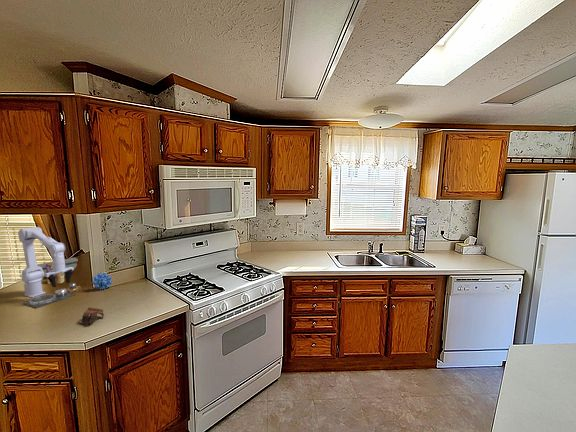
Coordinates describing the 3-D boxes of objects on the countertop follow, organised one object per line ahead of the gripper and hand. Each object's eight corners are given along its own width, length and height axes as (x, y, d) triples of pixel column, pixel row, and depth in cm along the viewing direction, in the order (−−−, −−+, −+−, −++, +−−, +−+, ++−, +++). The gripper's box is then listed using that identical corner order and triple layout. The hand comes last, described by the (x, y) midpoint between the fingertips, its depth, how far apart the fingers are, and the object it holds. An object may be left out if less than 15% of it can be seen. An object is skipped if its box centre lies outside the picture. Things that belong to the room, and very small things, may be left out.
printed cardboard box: (39, 281, 211) (37, 266, 210) (36, 279, 216) (34, 265, 215) (79, 272, 231) (77, 259, 230) (75, 270, 236) (74, 257, 235)
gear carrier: (24, 304, 172) (23, 298, 171) (61, 292, 190) (60, 286, 190) (36, 308, 167) (35, 301, 166) (73, 295, 185) (73, 289, 185)
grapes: (95, 293, 187) (93, 276, 186) (92, 291, 192) (90, 273, 190) (115, 288, 196) (113, 271, 195) (111, 286, 201) (110, 269, 199)
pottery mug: (78, 322, 151) (85, 306, 154) (98, 325, 157) (104, 309, 160) (81, 325, 142) (88, 307, 145) (102, 327, 148) (108, 311, 151)
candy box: (65, 281, 211) (62, 261, 209) (61, 283, 206) (59, 262, 204) (51, 282, 209) (49, 261, 207) (47, 284, 205) (45, 263, 203)
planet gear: (62, 291, 192) (61, 284, 191) (75, 287, 200) (75, 280, 199) (70, 293, 189) (69, 286, 188) (83, 288, 196) (83, 282, 196)
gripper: (48, 267, 167) (51, 289, 168) (75, 260, 180) (77, 281, 182) (41, 265, 169) (44, 288, 171) (68, 259, 183) (71, 280, 184)
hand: (61, 284), depth 177 cm, fingers open, 7 cm apart
